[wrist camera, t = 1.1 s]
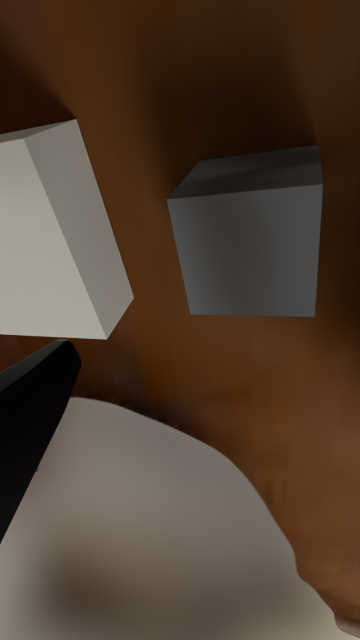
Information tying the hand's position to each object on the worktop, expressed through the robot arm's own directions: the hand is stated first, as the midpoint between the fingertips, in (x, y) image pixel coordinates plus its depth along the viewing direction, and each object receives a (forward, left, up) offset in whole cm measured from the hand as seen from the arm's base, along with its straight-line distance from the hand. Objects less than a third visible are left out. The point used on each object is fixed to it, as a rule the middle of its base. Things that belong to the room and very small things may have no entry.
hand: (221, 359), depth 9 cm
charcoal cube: (0, 0, -10) cm, 10 cm away
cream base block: (+13, 0, -10) cm, 16 cm away
